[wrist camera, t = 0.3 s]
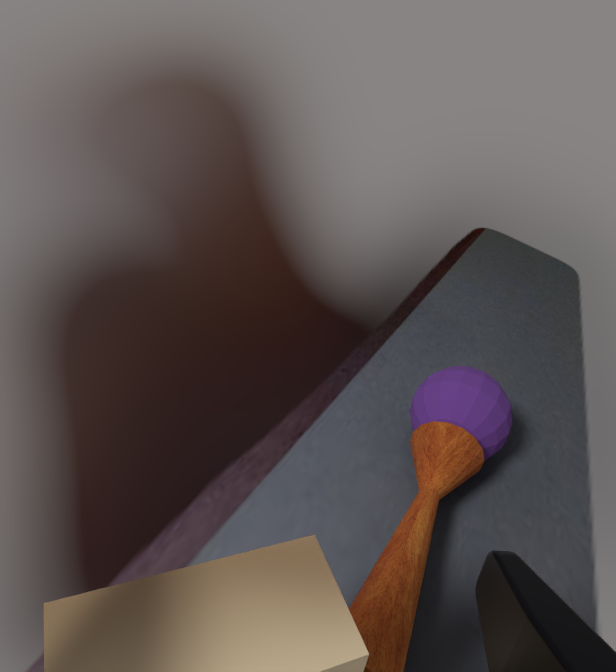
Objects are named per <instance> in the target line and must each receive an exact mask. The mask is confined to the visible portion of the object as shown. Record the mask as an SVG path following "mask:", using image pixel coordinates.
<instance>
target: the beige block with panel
mask: <svg viewBox="0 0 616 672" xmlns="http://www.w3.org/2000/svg"><path fill="white" fill-rule="evenodd" d="M368 656H369V653H368V650H367V648H366V646H365V644H364V642H363V640H362V637H361V635H360V633H359V631H358V629H357V626H356V624H355V622H354V620H353V618H352V616H351V613H350V611H349V609H348V607H347V605H346V602H345V600H344V598H343V596H342V594H341V592H340V589H339V587H338V585H337V583H336V581H335V578H334V576H333V574H332V572H331V570H330V568H329V565H328V563H327V561H326V559H325V557H324V554H323V552H322V550H321V548H320V546H319V544H318V541H317V539H316V537H315V535H311V536H307V537H303V538H299V539H295V540H291V541H287V542H284V543H280V544H276V545H272V546H268V547H264V548H260V549H256V550H252V551H248V552H244V553H240V554H236V555H232V556H228V557H224V558H220V559H217V560H213V561H209V562H205V563H201V564H197V565H193V566H189V567H185V568H181V569H177V570H173V571H169V572H165V573H161V574H157V575H153V576H150V577H146V578H142V579H138V580H134V581H130V582H126V583H122V584H118V585H114V586H110V587H106V588H102V589H98V590H94V591H90V592H86V593H83V594H79V595H75V596H71V597H67V598H63V599H59V600H55V601H51V602H48V603H44V672H364V669H365V666H366V662H367V659H368Z"/></svg>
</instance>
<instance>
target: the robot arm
mask: <svg viewBox="0 0 616 672" xmlns="http://www.w3.org/2000/svg"><path fill="white" fill-rule="evenodd" d="M476 600H477V606H478V611H479V617H480V622H481V628H482V633H483V639H484V644H485V650H486V655H487V661H488V666H489V672H616V652H615V651H614V650H613V649H612V648H611V647H610V646H609V645H608V644H607V643H606V642H605V641H604V640H603V639H602V638H601V637H600V636H599V635H598V634H597V633H596V632H595V631H594V630H593V629H592V628H591V627H590V626H589V625H588V624H587V623H586V622H585V621H584V620H583V619H582V618H581V617H580V616H579V615H578V614H577V613H576V612H575V611H574V610H573V609H572V608H571V607H570V606H569V605H568V604H567V603H566V602H565V601H564V600H563V599H562V598H561V597H560V596H559V595H558V594H556V593H555V592H554V591H553V590H552V589H551V588H550V587H549V586H548V585H547V584H546V583H545V582H544V581H543V580H542V579H541V578H540V577H539V576H538V575H537V574H536V573H535V572H534V571H533V570H532V569H531V568H530V567H529V566H528V565H527V564H526V563H525V562H524V561H523V560H522V559H521V558H520V557H519V556H518V555H517V554H515V553H513V552H508V551H491V552H490V553H488V555H487V557H486V559H485V562H484V564H483V567H482V570H481V572H480V575H479V577H478V580H477V583H476Z"/></svg>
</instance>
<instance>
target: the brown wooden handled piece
mask: <svg viewBox="0 0 616 672" xmlns="http://www.w3.org/2000/svg"><path fill="white" fill-rule="evenodd" d="M410 416H411V423H412V428H413V434H412V437H411V440H410V443H411V449H412V455H413V460H414V466H415V472H416V477H417V483H418V489H419V492H418V493H417V495H416V497H415V499H414V500H413V502H412V504H411V505H410V507H409V509H408V510H407V512H406V514H405V515H404V517H403V519H402V520H401V522H400V524H399V525H398V527H397V529H396V530H395V532H394V534H393V536H392V537H391V539H390V541H389V542H388V544H387V546H386V547H385V549H384V551H383V552H382V554H381V556H380V557H379V559H378V561H377V562H376V564H375V566H374V567H373V569H372V571H371V573H370V574H369V576H368V578H367V579H366V581H365V583H364V584H363V586H362V588H361V589H360V591H359V593H358V594H357V596H356V598H355V599H354V601H353V603H352V604H351V606H350V608H349V611H350V613H351V616H352V618H353V620H354V622H355V624H356V626H357V629H358V631H359V633H360V635H361V637H362V640H363V642H364V644H365V646H366V648H367V650H368V653H369V656H368V659H367V662H366V666H365V669H364V672H404V667H405V662H406V657H407V652H408V647H409V643H410V638H411V633H412V628H413V623H414V619H415V614H416V609H417V604H418V599H419V594H420V590H421V585H422V580H423V575H424V570H425V566H426V561H427V556H428V551H429V546H430V541H431V537H432V532H433V527H434V522H435V517H436V513H437V508H438V503H439V500H440V499H441V498H443V497H444V496H445V495H447V494H448V493H450V492H451V491H452V490H454V489H455V488H456V487H458V486H459V485H461V484H462V483H463V482H465V481H466V480H468V479H469V478H470V477H472V476H473V475H474V474H476V473H477V472H479V471H480V470H481V468H482V465H483V463H484V461H485V460H487V459H488V458H490V457H491V456H492V455H494V454H495V453H496V452H497V451H499V450H500V449H501V448H502V447H503V446H504V444H505V442H506V439H507V437H508V435H509V432H510V428H511V425H512V421H513V420H512V412H511V405H510V402H509V400H508V398H507V395H506V394H505V392H504V391H503V389H502V387H501V386H500V384H499V383H498V382H497V381H496V380H495V379H493V378H492V377H491V376H489V375H488V374H487V373H485V372H483V371H480V370H477V369H474V368H472V367H466V366H452V367H449V368H446V369H443V370H440V371H438V372H436V373H434V374H432V375H430V376H429V377H428V378H427V379H426V380H425V381H424V382H423V383H422V384H420V385H419V387H418V389H417V391H416V393H415V395H414V397H413V401H412V404H411V408H410Z"/></svg>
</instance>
